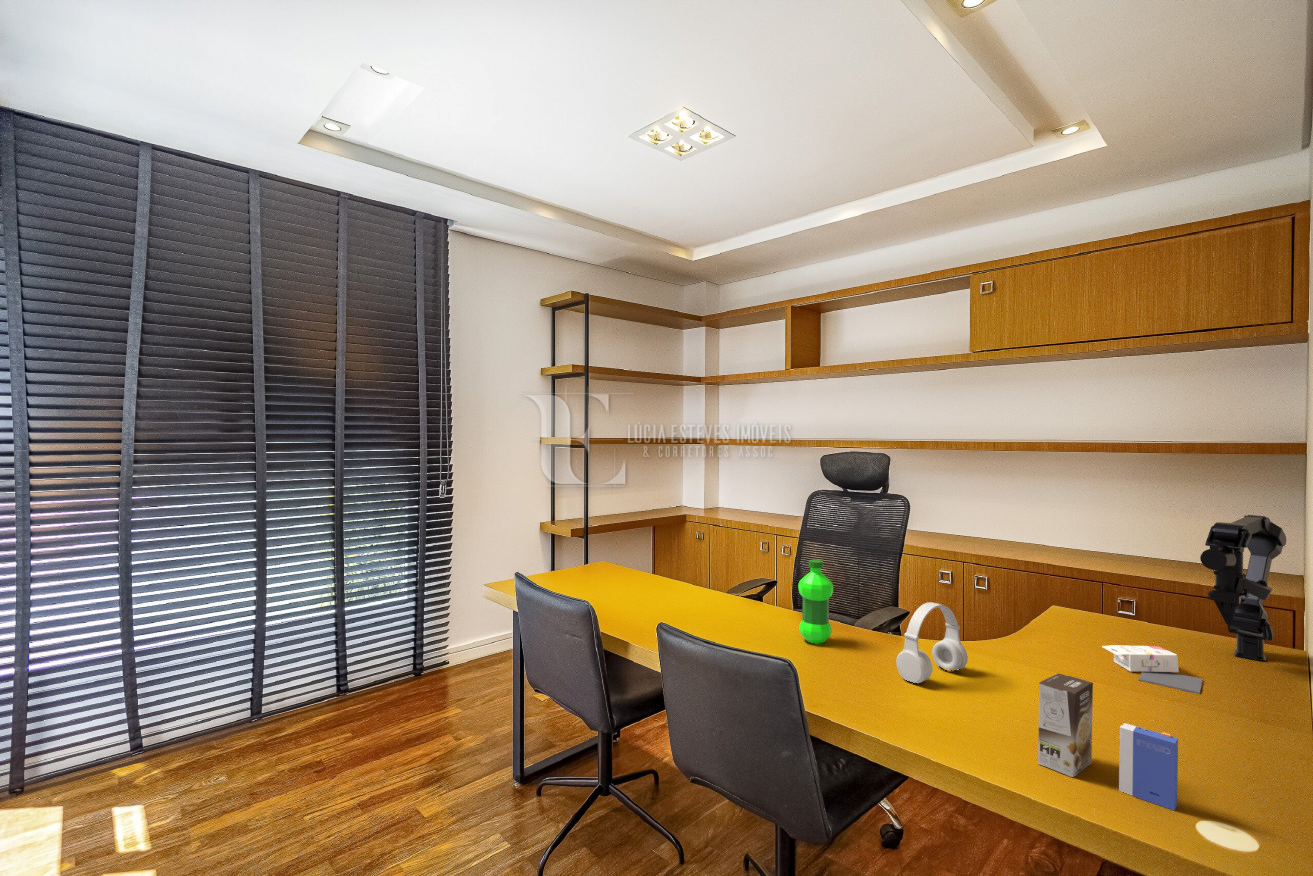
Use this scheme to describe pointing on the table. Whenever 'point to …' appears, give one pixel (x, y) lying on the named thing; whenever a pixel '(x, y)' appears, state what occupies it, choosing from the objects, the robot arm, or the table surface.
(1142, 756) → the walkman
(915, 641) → the headphones
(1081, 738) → the coffee box
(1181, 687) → the mat
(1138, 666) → the ink cartridge box
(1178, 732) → the table surface
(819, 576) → the plastic bottle
